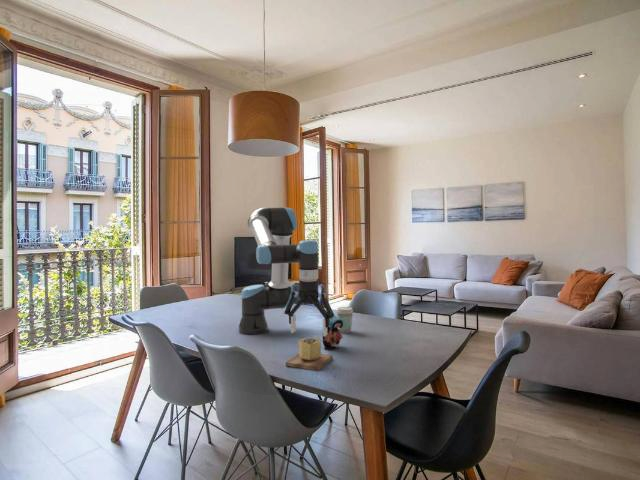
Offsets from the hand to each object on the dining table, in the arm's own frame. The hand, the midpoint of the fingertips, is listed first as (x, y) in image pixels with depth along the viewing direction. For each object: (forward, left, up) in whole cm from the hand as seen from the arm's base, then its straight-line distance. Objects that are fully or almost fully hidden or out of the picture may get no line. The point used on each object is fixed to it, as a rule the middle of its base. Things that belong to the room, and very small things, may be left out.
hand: (309, 333), depth 146 cm
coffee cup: (0, +47, -11) cm, 48 cm away
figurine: (+3, +20, -11) cm, 23 cm away
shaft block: (0, 0, -11) cm, 11 cm away
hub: (0, 0, -9) cm, 9 cm away
